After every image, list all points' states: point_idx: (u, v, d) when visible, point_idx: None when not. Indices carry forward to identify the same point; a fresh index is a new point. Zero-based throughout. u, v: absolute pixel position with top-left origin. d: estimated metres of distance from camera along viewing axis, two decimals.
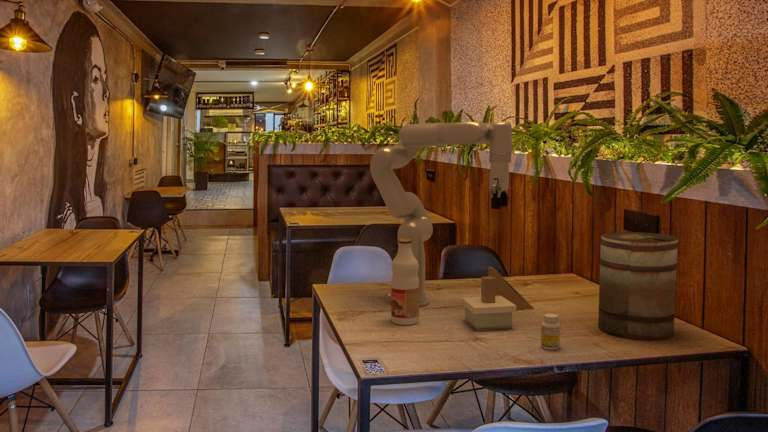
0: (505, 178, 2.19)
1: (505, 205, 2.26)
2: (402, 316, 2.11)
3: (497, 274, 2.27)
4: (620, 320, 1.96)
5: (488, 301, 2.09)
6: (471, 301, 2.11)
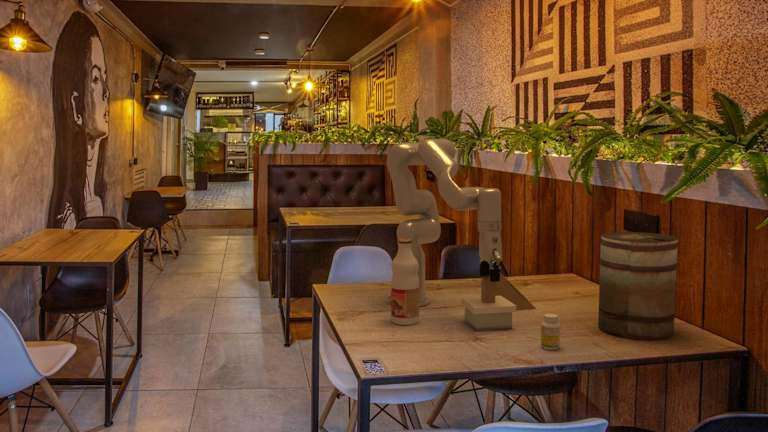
0: (480, 246, 2.10)
1: None
2: (402, 316, 2.11)
3: None
4: (620, 320, 1.96)
5: (488, 301, 2.09)
6: (471, 301, 2.11)
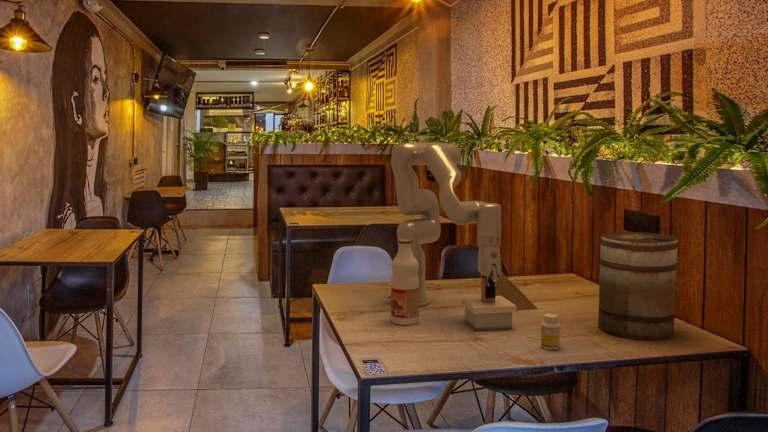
0: (479, 260, 2.10)
1: None
2: (402, 316, 2.11)
3: (501, 274, 2.26)
4: (620, 320, 1.96)
5: (488, 301, 2.09)
6: (471, 301, 2.11)
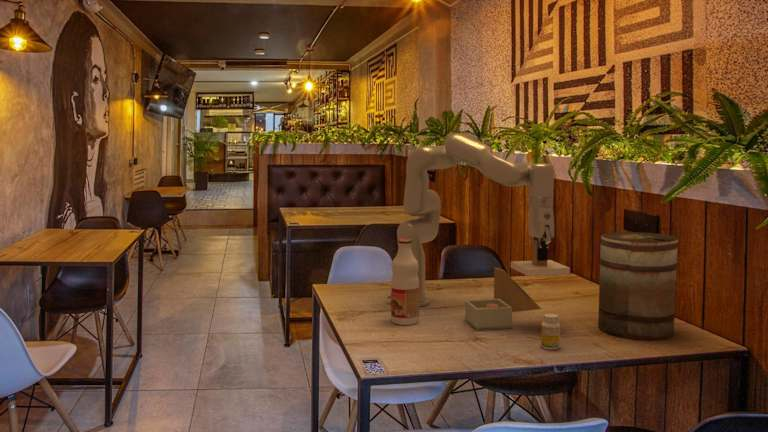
0: (531, 223, 2.06)
1: None
2: (402, 316, 2.11)
3: (506, 275, 2.26)
4: (620, 320, 1.96)
5: (540, 264, 2.04)
6: (522, 264, 2.06)
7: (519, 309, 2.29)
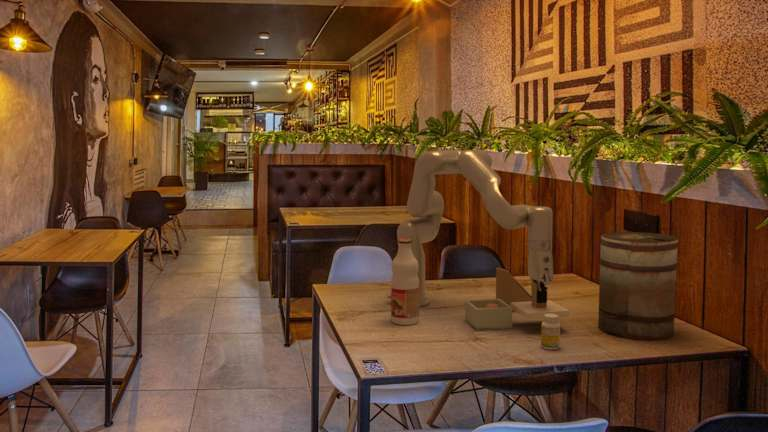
0: (530, 265, 2.07)
1: None
2: (402, 316, 2.11)
3: (509, 275, 2.25)
4: (620, 320, 1.96)
5: (539, 306, 2.05)
6: (522, 306, 2.07)
7: None
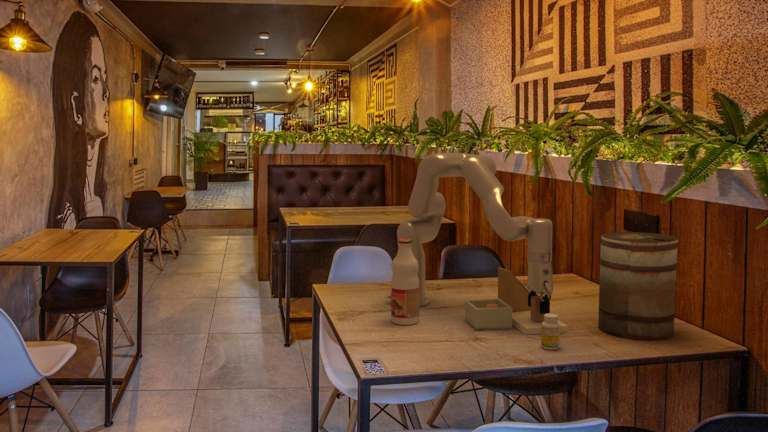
0: (529, 277, 2.08)
1: None
2: (402, 316, 2.11)
3: (512, 275, 2.25)
4: (620, 320, 1.96)
5: (538, 321, 2.06)
6: (521, 321, 2.08)
7: (524, 309, 2.28)
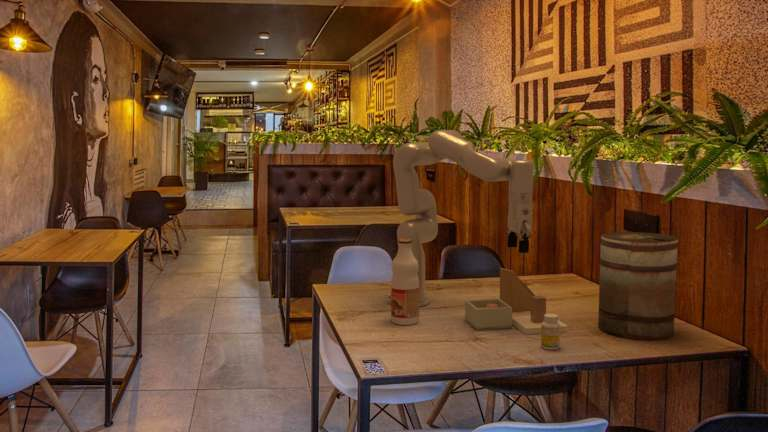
0: (510, 218, 2.10)
1: None
2: (402, 316, 2.11)
3: (514, 275, 2.25)
4: (620, 320, 1.96)
5: (538, 321, 2.06)
6: (521, 321, 2.08)
7: (526, 309, 2.28)
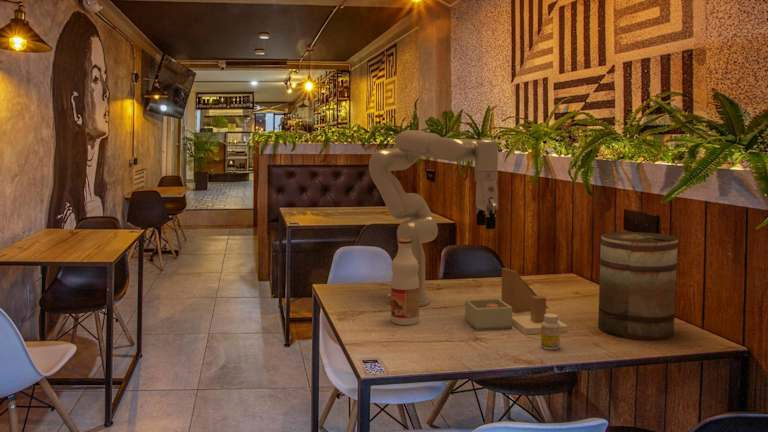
0: (477, 196, 2.17)
1: None
2: (402, 316, 2.11)
3: (517, 275, 2.25)
4: (620, 320, 1.96)
5: (538, 321, 2.06)
6: (521, 321, 2.08)
7: (529, 309, 2.28)
